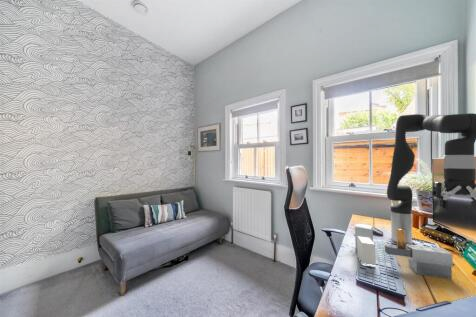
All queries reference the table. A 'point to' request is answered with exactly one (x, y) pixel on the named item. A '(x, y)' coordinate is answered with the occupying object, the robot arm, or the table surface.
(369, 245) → the socket block
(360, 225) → the supplement box
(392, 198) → the robot arm
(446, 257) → the grey sleeve
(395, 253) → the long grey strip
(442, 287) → the table surface
